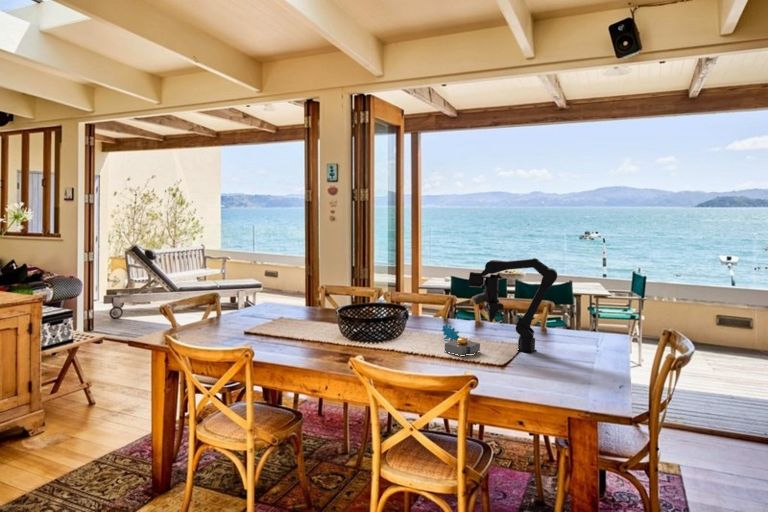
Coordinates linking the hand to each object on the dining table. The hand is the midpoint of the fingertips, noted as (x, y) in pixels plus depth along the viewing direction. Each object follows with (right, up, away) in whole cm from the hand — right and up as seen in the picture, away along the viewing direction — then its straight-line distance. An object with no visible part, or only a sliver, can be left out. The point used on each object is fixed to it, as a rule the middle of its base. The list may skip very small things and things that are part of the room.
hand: (490, 321), depth 224 cm
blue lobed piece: (-16, -11, +13) cm, 24 cm away
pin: (-14, -12, -7) cm, 20 cm away
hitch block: (-14, -13, -7) cm, 20 cm away
